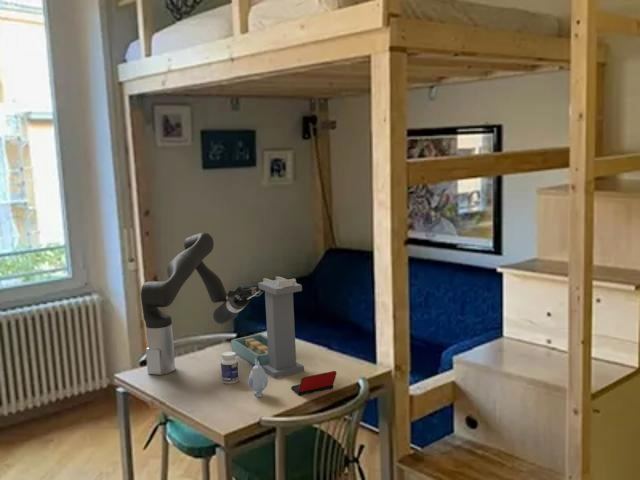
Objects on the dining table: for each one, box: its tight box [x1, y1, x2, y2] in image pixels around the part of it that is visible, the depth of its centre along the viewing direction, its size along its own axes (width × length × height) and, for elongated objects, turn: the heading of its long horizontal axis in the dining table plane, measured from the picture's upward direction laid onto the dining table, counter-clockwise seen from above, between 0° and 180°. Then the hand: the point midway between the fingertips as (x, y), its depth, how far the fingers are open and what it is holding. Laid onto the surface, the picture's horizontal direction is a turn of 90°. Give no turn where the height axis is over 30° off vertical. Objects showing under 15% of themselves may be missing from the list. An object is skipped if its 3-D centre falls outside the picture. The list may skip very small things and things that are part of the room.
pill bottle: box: [220, 351, 239, 385], centre depth 220 cm, size 6×6×10 cm
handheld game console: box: [290, 370, 337, 397], centre depth 209 cm, size 12×11×7 cm
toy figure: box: [247, 359, 269, 398], centre depth 206 cm, size 11×6×12 cm, turn 26°
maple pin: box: [245, 338, 268, 355], centre depth 246 cm, size 20×3×3 cm, turn 30°
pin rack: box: [257, 276, 305, 379], centre depth 225 cm, size 14×12×34 cm
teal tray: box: [230, 333, 269, 367], centre depth 245 cm, size 25×13×5 cm, turn 30°
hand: (250, 287), depth 246 cm, fingers open, 8 cm apart
